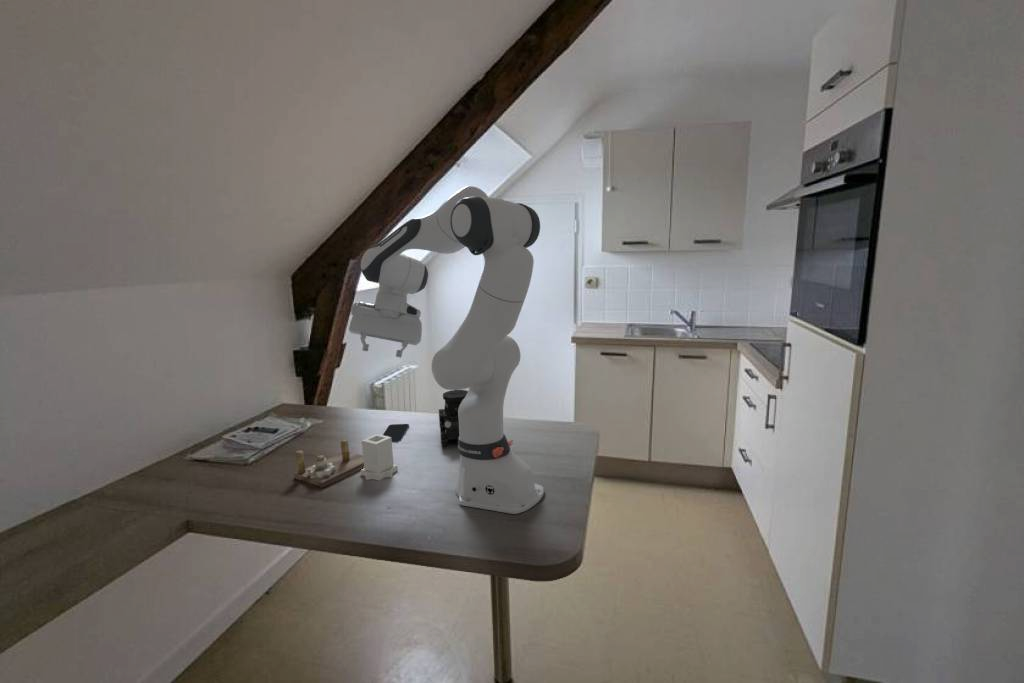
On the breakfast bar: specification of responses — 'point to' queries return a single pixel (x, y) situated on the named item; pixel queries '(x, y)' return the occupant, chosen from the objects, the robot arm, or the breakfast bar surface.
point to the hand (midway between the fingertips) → (381, 353)
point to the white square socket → (378, 457)
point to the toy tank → (450, 415)
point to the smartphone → (396, 431)
